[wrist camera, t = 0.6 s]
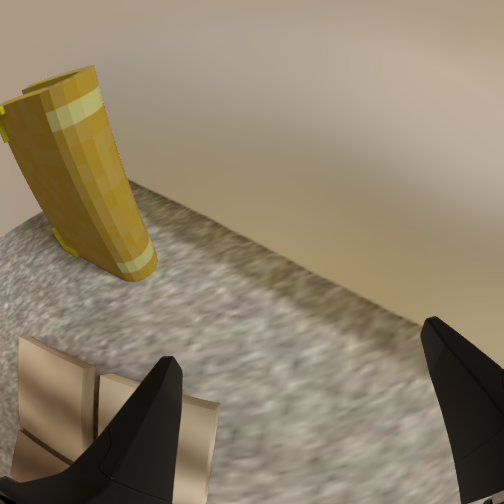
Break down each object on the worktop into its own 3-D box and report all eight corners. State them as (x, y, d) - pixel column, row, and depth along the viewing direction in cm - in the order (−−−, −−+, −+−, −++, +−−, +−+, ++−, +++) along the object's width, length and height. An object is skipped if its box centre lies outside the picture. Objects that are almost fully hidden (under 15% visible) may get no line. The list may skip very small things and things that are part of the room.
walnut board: (192, 564, 12) (187, 571, 11) (20, 476, 15) (10, 474, 14) (205, 508, 17) (201, 512, 15) (30, 427, 20) (20, 424, 18)
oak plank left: (93, 461, 19) (83, 467, 17) (31, 422, 20) (20, 425, 18) (95, 366, 22) (83, 368, 20) (31, 336, 23) (19, 336, 21)
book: (64, 250, 37) (-9, 111, 18) (90, 221, 41) (33, 83, 22) (138, 290, 33) (46, 93, 13) (167, 251, 36) (110, 60, 17)
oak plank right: (206, 502, 17) (200, 513, 15) (109, 469, 19) (99, 475, 17) (220, 403, 20) (214, 409, 18) (112, 373, 21) (100, 375, 19)
